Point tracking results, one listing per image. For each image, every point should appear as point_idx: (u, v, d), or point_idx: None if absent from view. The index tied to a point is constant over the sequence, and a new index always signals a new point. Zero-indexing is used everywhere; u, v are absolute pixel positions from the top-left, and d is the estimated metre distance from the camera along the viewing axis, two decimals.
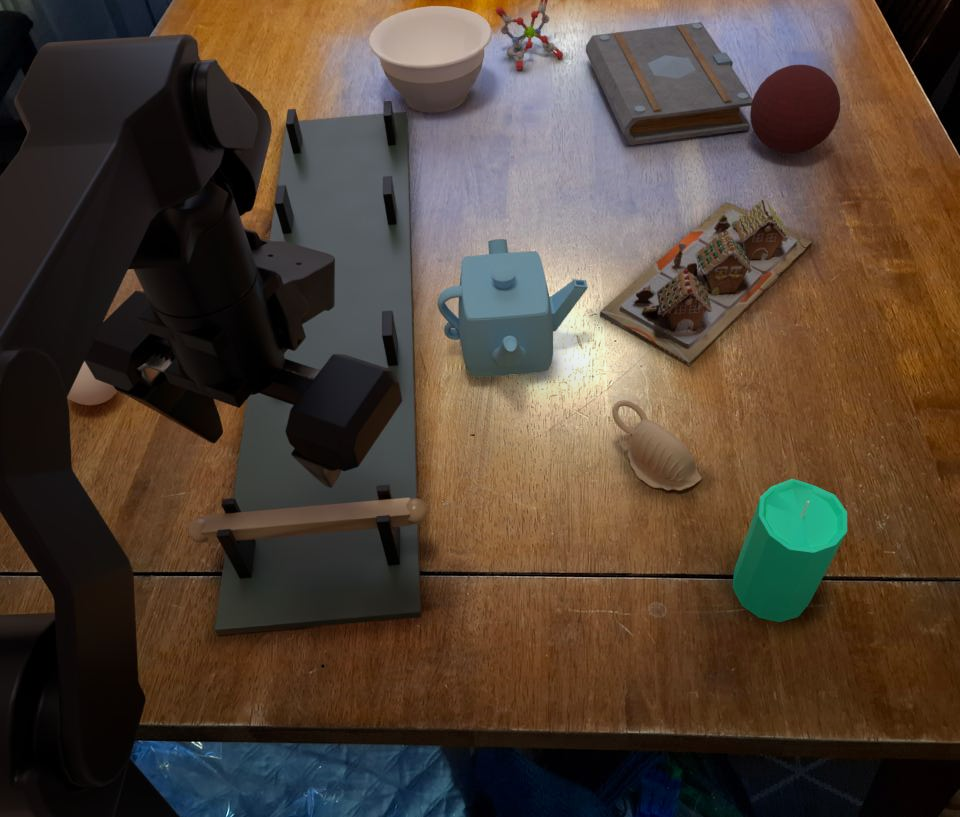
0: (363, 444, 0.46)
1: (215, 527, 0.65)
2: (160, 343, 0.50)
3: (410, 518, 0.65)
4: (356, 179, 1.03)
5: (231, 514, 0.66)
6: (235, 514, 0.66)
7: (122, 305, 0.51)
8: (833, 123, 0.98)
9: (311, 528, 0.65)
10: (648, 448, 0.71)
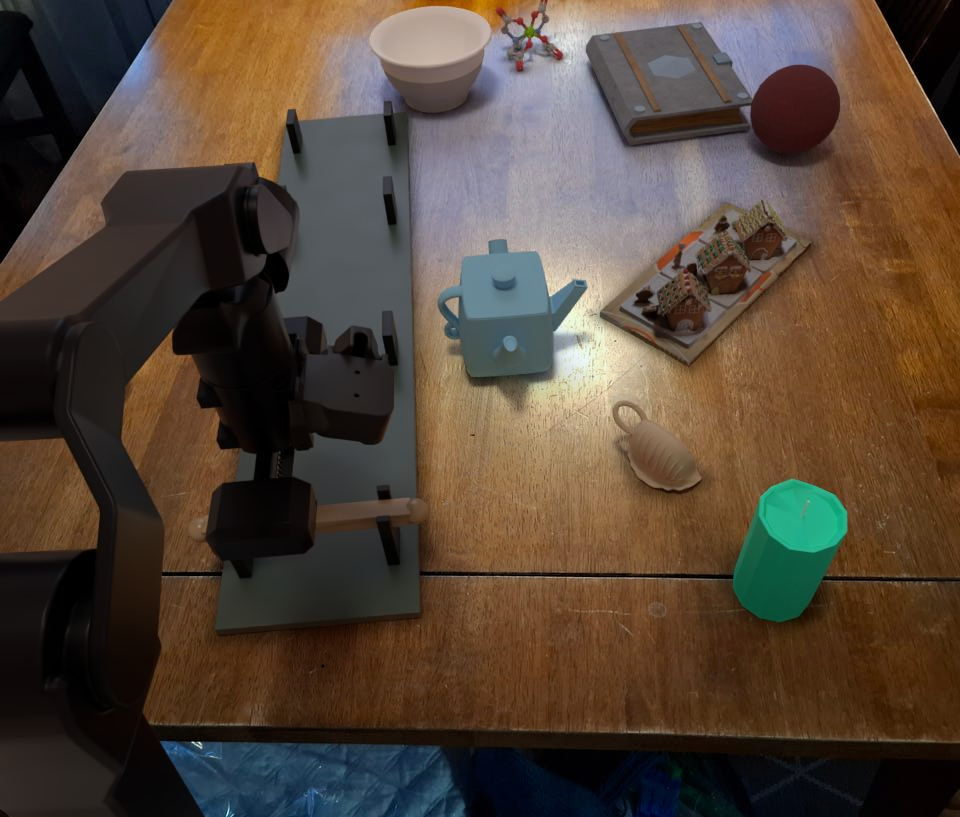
0: (231, 551, 0.51)
1: None
2: None
3: (410, 518, 0.65)
4: (356, 179, 1.03)
5: None
6: None
7: (288, 318, 0.61)
8: (833, 123, 0.98)
9: None
10: (648, 448, 0.71)
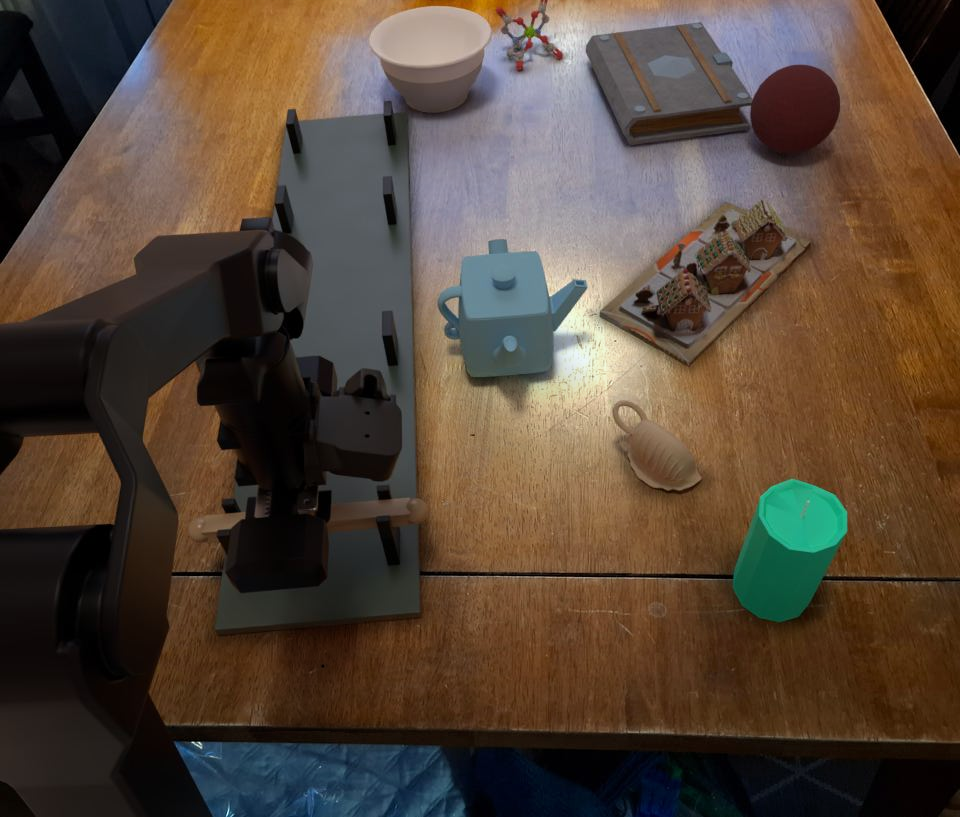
0: (250, 584, 0.54)
1: (215, 527, 0.65)
2: None
3: (410, 518, 0.65)
4: (356, 179, 1.03)
5: (231, 514, 0.66)
6: (235, 514, 0.66)
7: (300, 358, 0.64)
8: (833, 123, 0.98)
9: None
10: (648, 448, 0.71)
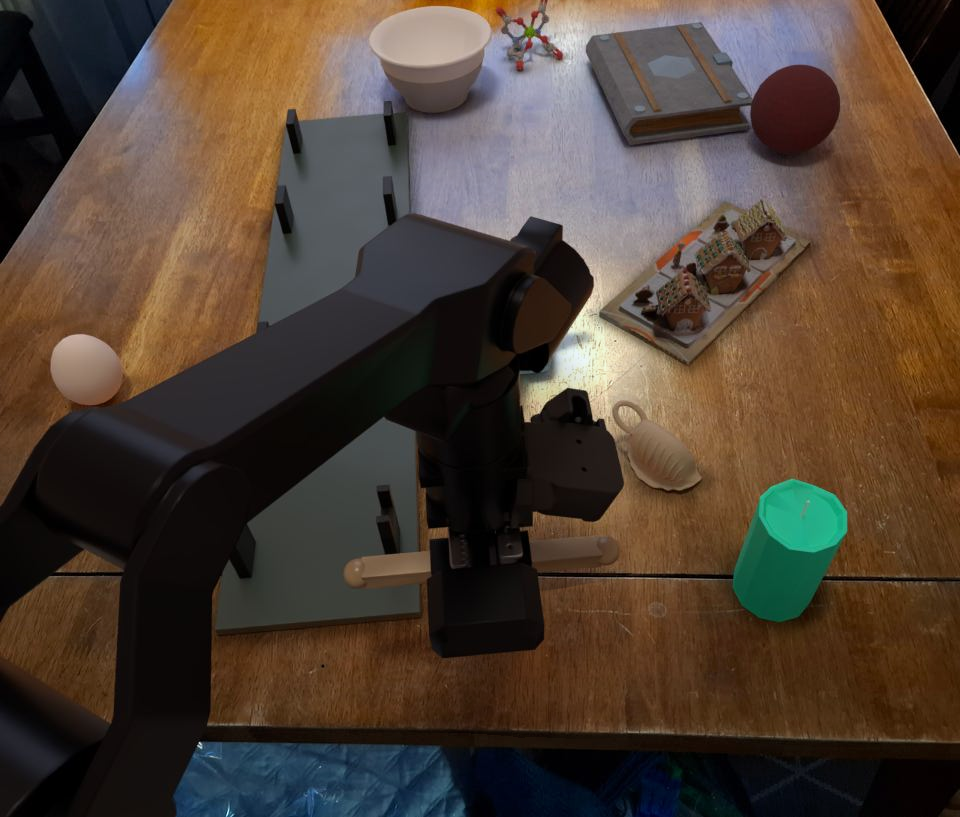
0: (457, 649, 0.45)
1: (377, 571, 0.56)
2: None
3: (602, 559, 0.56)
4: (356, 179, 1.03)
5: (394, 555, 0.57)
6: (398, 555, 0.57)
7: None
8: (833, 123, 0.98)
9: None
10: (648, 448, 0.71)
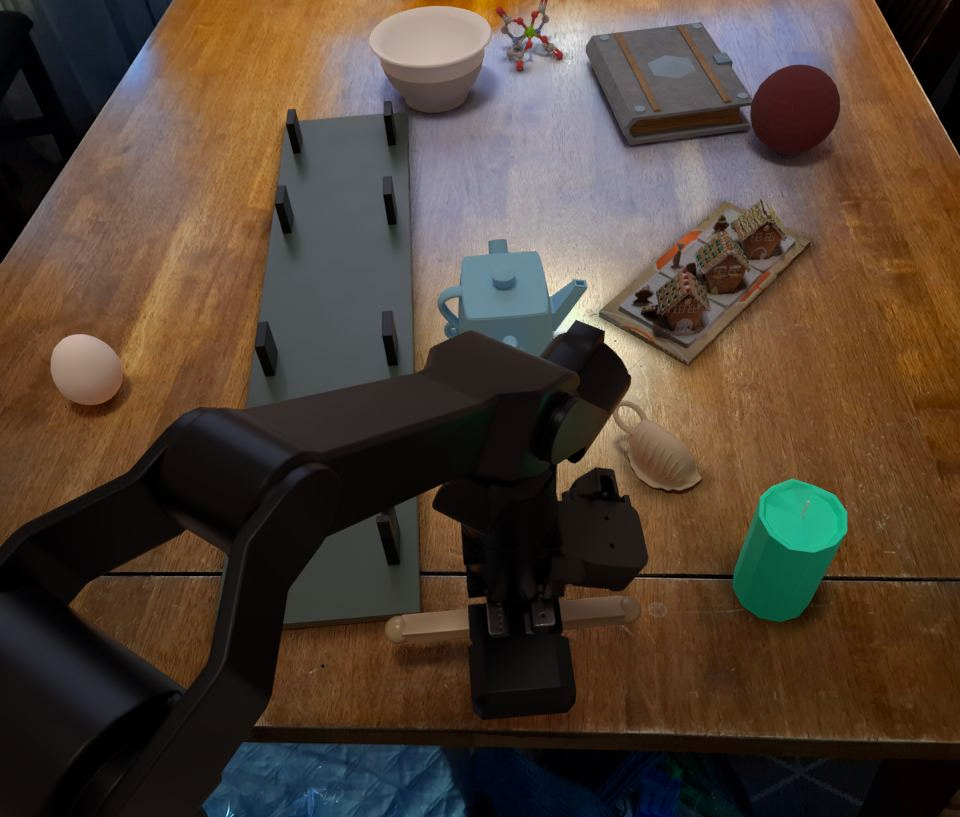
0: (496, 713, 0.50)
1: (417, 629, 0.61)
2: None
3: (625, 619, 0.61)
4: (356, 179, 1.03)
5: (431, 613, 0.61)
6: (435, 613, 0.61)
7: None
8: (833, 123, 0.98)
9: None
10: (648, 448, 0.71)
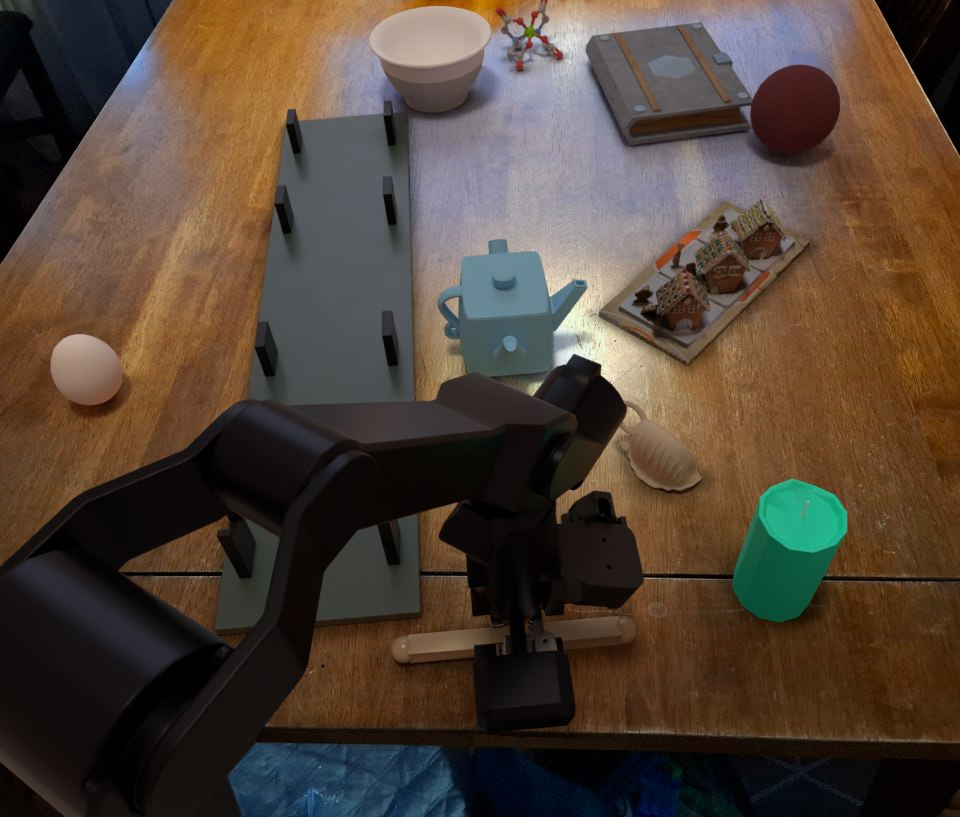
0: (500, 726, 0.53)
1: (422, 648, 0.63)
2: None
3: (621, 638, 0.63)
4: (356, 179, 1.03)
5: (436, 633, 0.64)
6: (440, 633, 0.64)
7: None
8: (833, 123, 0.98)
9: None
10: (648, 448, 0.71)
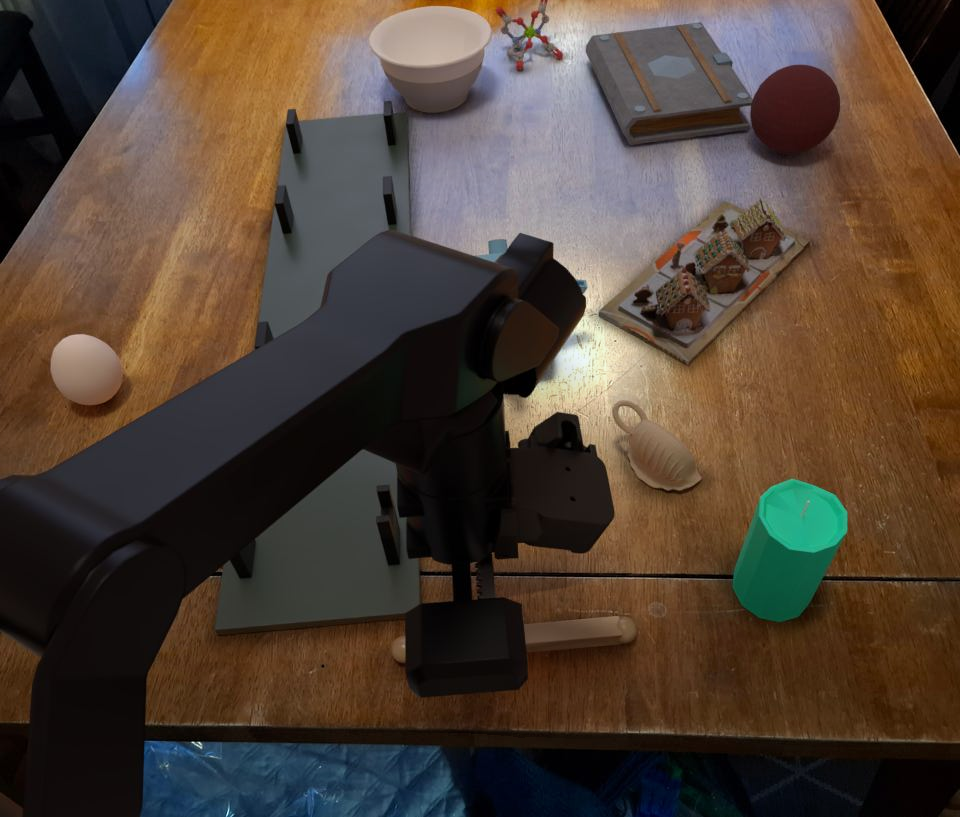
0: (435, 689, 0.43)
1: None
2: None
3: (621, 638, 0.63)
4: (356, 179, 1.03)
5: None
6: None
7: None
8: (833, 123, 0.98)
9: None
10: (648, 448, 0.71)
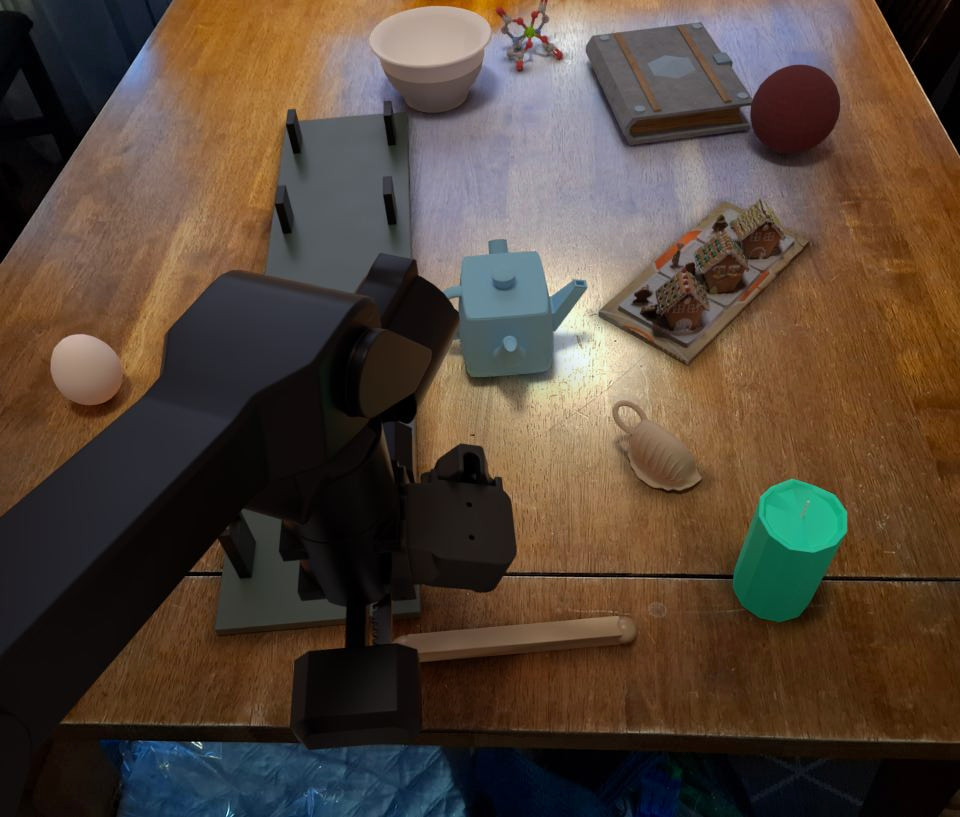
0: (322, 742, 0.41)
1: (422, 648, 0.63)
2: None
3: (621, 638, 0.63)
4: (356, 179, 1.03)
5: (436, 633, 0.64)
6: (440, 633, 0.64)
7: None
8: (833, 123, 0.98)
9: (519, 648, 0.63)
10: (648, 448, 0.71)
